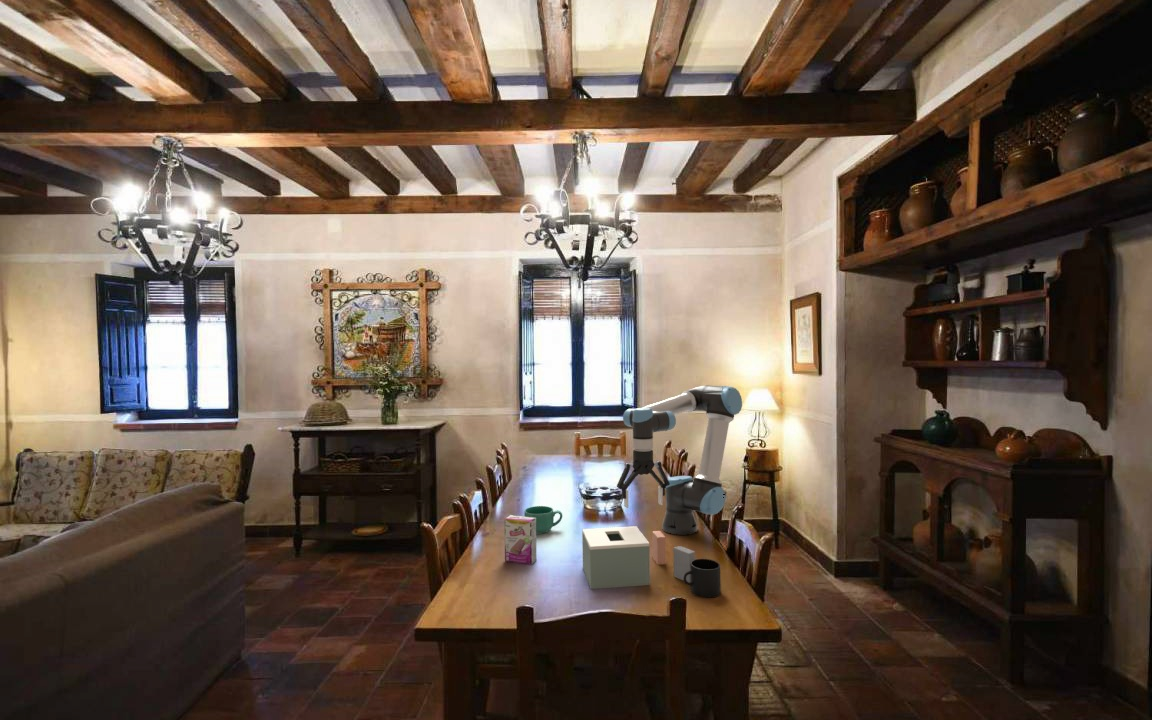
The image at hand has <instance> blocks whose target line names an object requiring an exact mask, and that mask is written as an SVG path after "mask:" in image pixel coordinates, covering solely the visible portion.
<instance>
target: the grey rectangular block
mask: <svg viewBox="0 0 1152 720" xmlns="http://www.w3.org/2000/svg"><path fill="white" fill-rule="evenodd" d="M672 551H673V577H674V578H677V579H678V580H681V581H683V582H684V575H685V573H686V572H688V571H690V563H691V561H693V560H696V551H695V550H692V549H689V548H687V547H684V546H681V545H678V546H675V547H673V550H672ZM686 581H687V582H689V583H690V582H691V576H690V574H688V575H687V577H686Z"/></svg>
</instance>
